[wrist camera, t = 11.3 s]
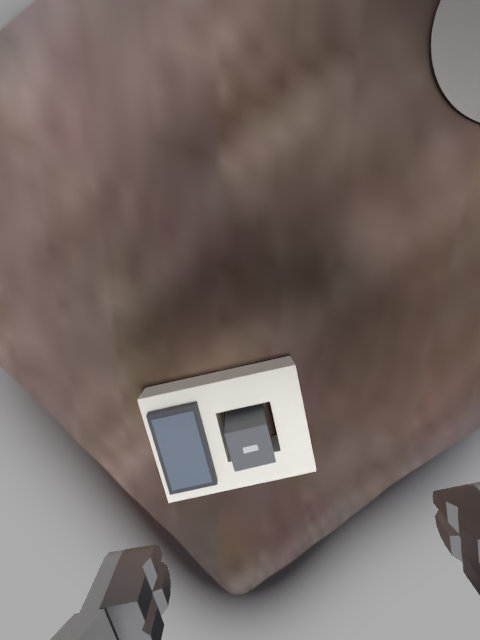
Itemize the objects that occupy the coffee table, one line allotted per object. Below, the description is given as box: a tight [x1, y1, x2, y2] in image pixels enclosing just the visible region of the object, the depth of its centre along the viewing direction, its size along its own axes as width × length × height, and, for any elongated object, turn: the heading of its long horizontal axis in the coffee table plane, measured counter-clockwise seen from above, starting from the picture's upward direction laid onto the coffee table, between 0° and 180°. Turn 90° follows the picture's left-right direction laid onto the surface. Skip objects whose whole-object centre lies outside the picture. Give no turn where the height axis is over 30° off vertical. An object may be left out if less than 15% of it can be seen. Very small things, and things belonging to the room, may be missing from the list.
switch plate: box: [137, 356, 316, 503], centre depth 33 cm, size 16×12×4 cm
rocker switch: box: [224, 403, 276, 472], centre depth 32 cm, size 4×4×6 cm
